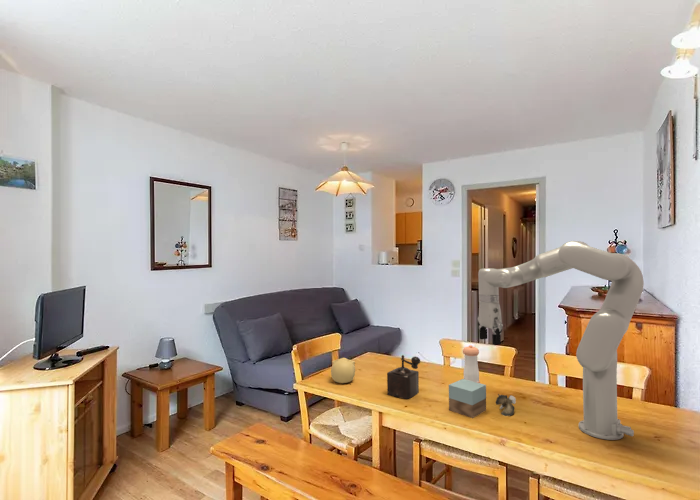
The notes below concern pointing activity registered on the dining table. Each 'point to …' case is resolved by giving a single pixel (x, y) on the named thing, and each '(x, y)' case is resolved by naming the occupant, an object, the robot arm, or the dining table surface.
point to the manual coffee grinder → (404, 380)
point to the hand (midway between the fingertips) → (489, 341)
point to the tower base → (467, 407)
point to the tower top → (467, 391)
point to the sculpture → (343, 370)
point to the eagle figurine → (506, 404)
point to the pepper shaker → (471, 364)
